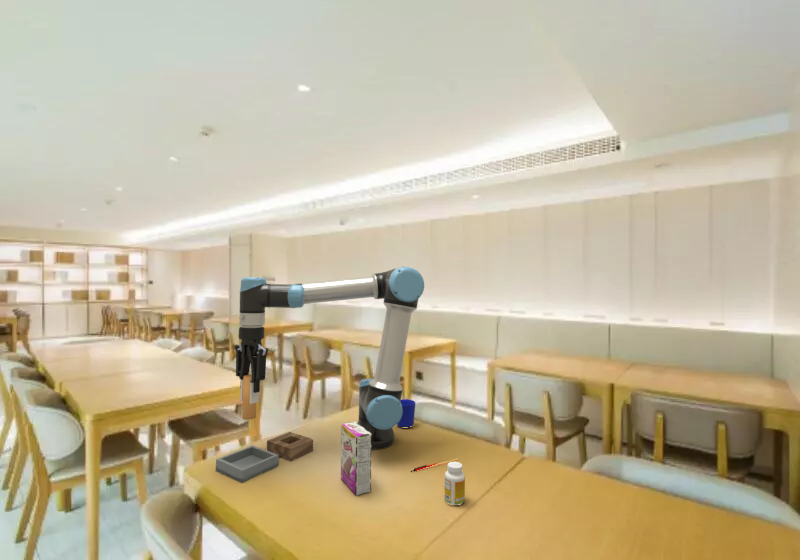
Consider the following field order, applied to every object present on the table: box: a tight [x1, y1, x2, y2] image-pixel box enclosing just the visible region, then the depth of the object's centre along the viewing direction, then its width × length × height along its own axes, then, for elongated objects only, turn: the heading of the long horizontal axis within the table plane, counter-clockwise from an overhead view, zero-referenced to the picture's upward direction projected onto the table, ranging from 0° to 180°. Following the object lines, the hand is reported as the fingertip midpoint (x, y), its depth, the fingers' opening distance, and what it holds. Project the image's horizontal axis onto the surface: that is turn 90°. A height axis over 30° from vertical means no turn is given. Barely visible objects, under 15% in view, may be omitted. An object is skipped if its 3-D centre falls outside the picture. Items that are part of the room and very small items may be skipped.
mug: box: [396, 398, 416, 428], centre depth 162 cm, size 8×12×10 cm
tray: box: [215, 444, 280, 484], centre depth 120 cm, size 13×13×4 cm
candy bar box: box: [340, 421, 372, 497], centre depth 111 cm, size 11×5×16 cm, turn 31°
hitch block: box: [266, 431, 314, 462], centre depth 133 cm, size 12×10×4 cm
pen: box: [410, 462, 438, 473], centre depth 125 cm, size 1×19×1 cm, turn 121°
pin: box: [241, 373, 257, 421], centre depth 121 cm, size 4×4×13 cm
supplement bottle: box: [443, 461, 466, 505], centre depth 104 cm, size 5×5×10 cm
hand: (249, 401), depth 121 cm, fingers closed on pin, 4 cm apart
